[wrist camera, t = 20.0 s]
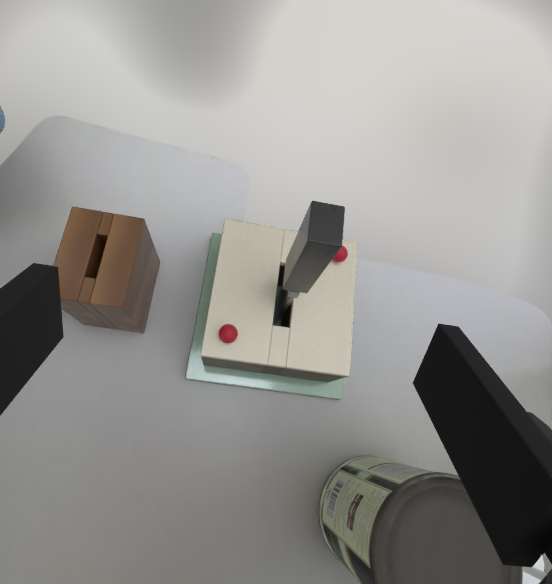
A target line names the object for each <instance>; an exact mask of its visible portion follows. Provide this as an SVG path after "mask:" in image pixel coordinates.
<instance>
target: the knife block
mask: <svg viewBox="0 0 552 584" xmlns="http://www.w3.org/2000/svg"><path fill="white" fill-rule="evenodd" d="M159 264H160V261H159V258H158V255H157V253H156V250H155V247H154V244H153V242H152V239H151V236H150V233H149V231H148V228H147V225H146V222H145V220H144V219H142V218H136V217H130V216H125V215H119V214H113V213H107V212H101V211H95V210H89V209H84V208H78V207H72V209H71V212H70V215H69V218H68V221H67V224H66V228H65V231H64V234H63V237H62V240H61V243H60V246H59V250H58V253H57V256H56V259H55V262H54V265H53V266H56V267H58V270H59V284H60V297H61V309H63V310H64V311H66V312H67V313H69V314H70V315H71V316H73V317H74V318H76V319H77V320H79V321H80V322H81V323H83V324H84V325H91V326H98V327H105V328H112V329H119V330H126V331H133V332H140V333H144V330H145V326H146V321H147V317H148V312H149V308H150V304H151V299H152V295H153V291H154V286H155V282H156V277H157V273H158V269H159Z"/></svg>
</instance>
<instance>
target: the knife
mask: <svg viewBox="0 0 552 584" xmlns="http://www.w3.org/2000/svg"><path fill="white" fill-rule="evenodd" d="M344 211H345V207H343V206H338V205H333V204H327V203H322V202H316V201H312V202H311V204H310V206H309V209H308V211H307V213H306V215H305V217H304V220H303V222H302V225H301V227H300V229H299V231H298V233H297V236H296V238H295V240H294V242H293V245H292V247H291V249H290V251H289V254H288V256H287V258H286V264H285V272H284V280H283V287H282V289H281V291H280V293H279V294H278V296H277V298H276V300H275V308H274V316H273V324H272V326H273V325H275V326H276V325H277V323H278V322H279V320H280V319H281V317H282V316H283V314H284V313H285V311H286V310H287V308H288V307H289V305H290V304H291V302H292V300H293V299H294V298H298V296H299V295H300V292H302V293H308V292H309V290H310V289H311V288H312V286H313V285H314V284H315V282H316V281H317V280H318V278H319V277H320V275H321V274H322V273H323V271H324V270H325V269H326V267H327V266H328V265H329V263H330V262H331V261H332V259H333V258H334V256H335V255H336V254H337V252H338V251H339V250H340V248H341V247H342V240H343V225H344Z"/></svg>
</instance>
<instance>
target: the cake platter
mask: <svg viewBox="0 0 552 584" xmlns="http://www.w3.org/2000/svg"><path fill="white" fill-rule="evenodd" d="M221 238H222V235H221V234H215V233H212V238H211V243H210V249H209V254H208V259H207V265H206V270H205V275H204V281H203V286H202V291H201V297H200V302H199V307H198V313H197V318H196V323H195V329H194V334H193V339H192V345H191V350H190V355H189V361H188V366H187V371H186V377H185V378H186V379H188V380H195V381H203V382H210V383H218V384H225V385H233V386H240V387H248V388H255V389H263V390H270V391H278V392H285V393H293V394H300V395H308V396H315V397H323V398H330V399H338V400H340V399H342V393H343V378H341V379H338V380H335V381H331V382H322V381H315V380H308V379H300V378H293V377H286V376H279V375H271V374H264V373H260V372H259V373H256V372H249V371H242V370H235V369H227V368H220V367H213V366H205V365H203V362H202V358H201V350H202V344H203V339H204V333H205V328H206V322H207V316H208V311H209V305H210V300H211V294H212V288H213V283H214V277H215V272H216V266H217V260H218V255H219V249H220V244H221ZM281 289H282V287H280V286H277V292H276V298H277V296H278V294H279V293H280V291H281ZM281 320H282V317H281V319H280V320H279V322H278V323H277V325H276V326H281Z"/></svg>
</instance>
